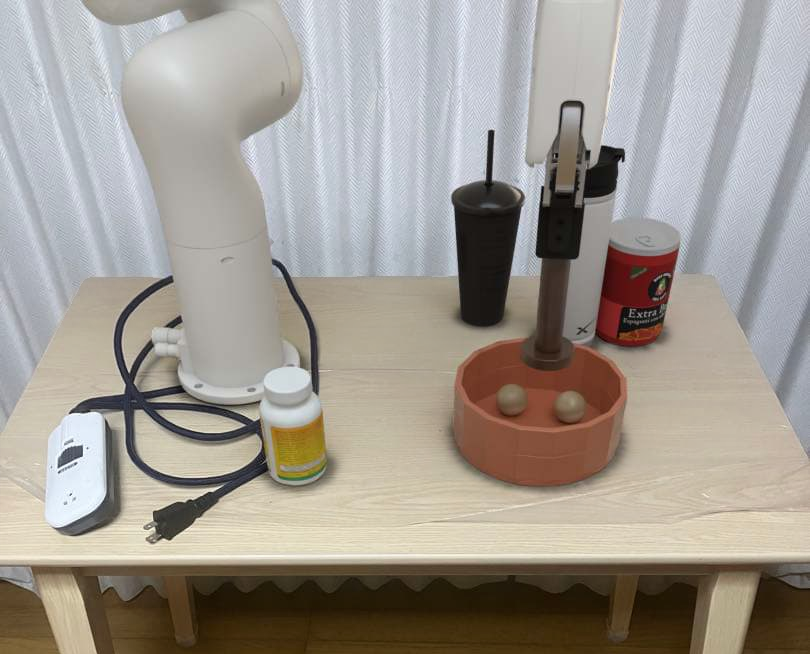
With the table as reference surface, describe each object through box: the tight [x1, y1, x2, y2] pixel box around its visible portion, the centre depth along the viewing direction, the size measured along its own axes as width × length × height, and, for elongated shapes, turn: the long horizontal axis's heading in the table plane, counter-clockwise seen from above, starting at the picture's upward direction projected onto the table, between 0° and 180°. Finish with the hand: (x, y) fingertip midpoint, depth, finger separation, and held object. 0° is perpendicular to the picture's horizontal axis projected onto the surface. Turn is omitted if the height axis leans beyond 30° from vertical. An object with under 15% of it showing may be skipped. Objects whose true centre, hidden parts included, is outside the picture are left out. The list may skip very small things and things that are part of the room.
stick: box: [520, 172, 578, 371], centre depth 66 cm, size 4×4×15 cm
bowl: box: [453, 336, 628, 487], centre depth 79 cm, size 15×15×6 cm
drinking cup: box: [450, 129, 526, 327], centre depth 91 cm, size 8×8×20 cm
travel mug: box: [563, 144, 626, 348], centre depth 87 cm, size 6×7×20 cm
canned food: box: [595, 217, 682, 347], centre depth 92 cm, size 8×8×11 cm
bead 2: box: [554, 391, 586, 423], centre depth 81 cm, size 3×3×3 cm
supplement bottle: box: [258, 367, 328, 486], centre depth 75 cm, size 5×5×10 cm
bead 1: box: [496, 384, 528, 416], centre depth 82 cm, size 3×3×3 cm
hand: (557, 246), depth 65 cm, fingers closed on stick, 2 cm apart
